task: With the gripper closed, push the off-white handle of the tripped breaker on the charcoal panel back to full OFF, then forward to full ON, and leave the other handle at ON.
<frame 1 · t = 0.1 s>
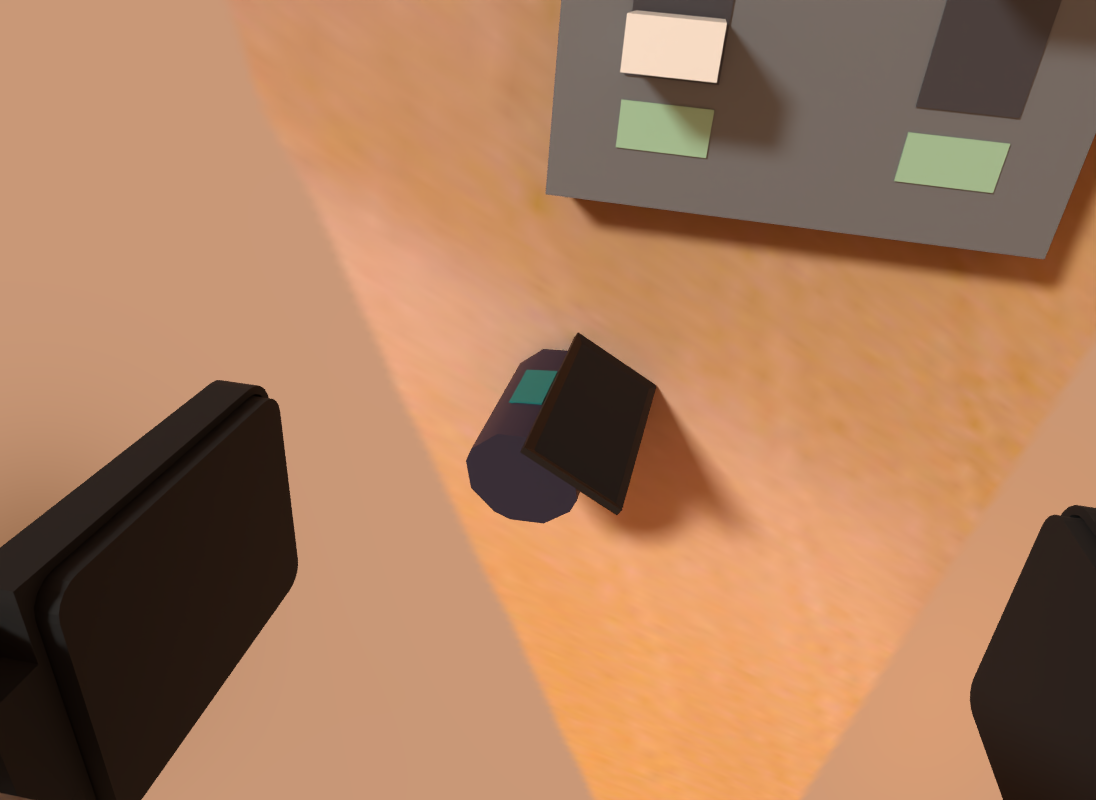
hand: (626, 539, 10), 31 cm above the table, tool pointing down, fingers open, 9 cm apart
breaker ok: (674, 44, 30), point 5 cm above the table, slide at 5.0 cm
speaker: (573, 394, 45), on the table
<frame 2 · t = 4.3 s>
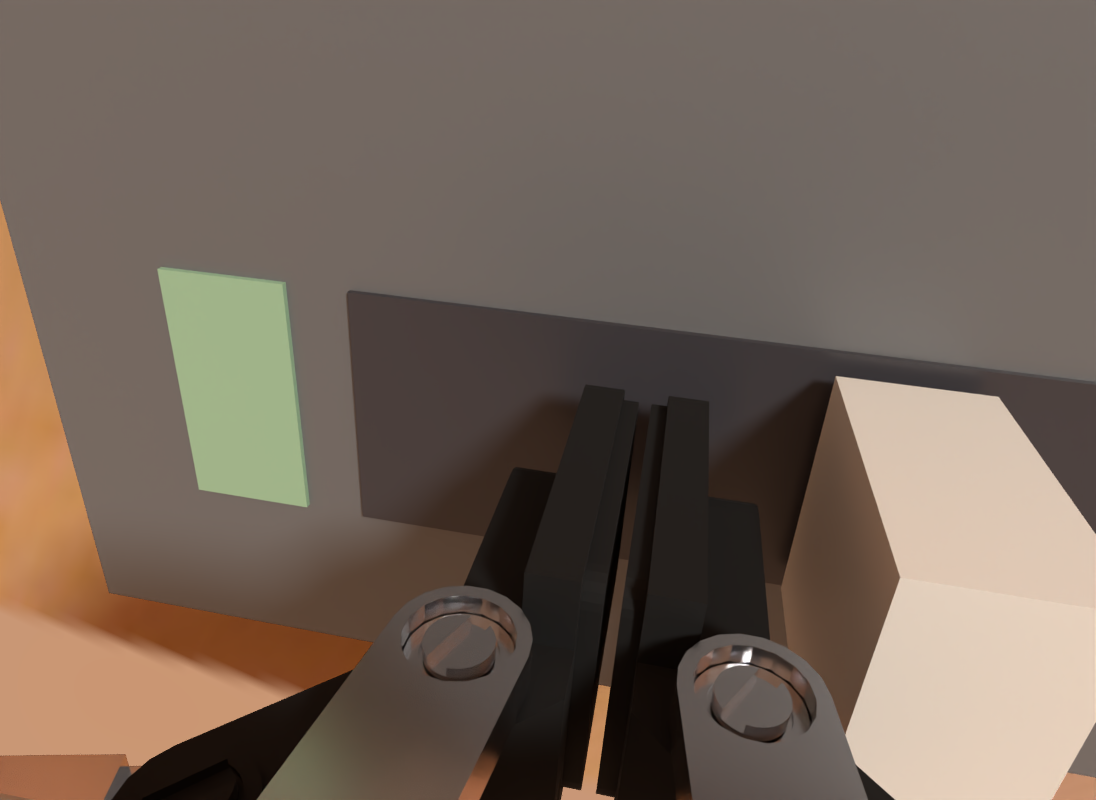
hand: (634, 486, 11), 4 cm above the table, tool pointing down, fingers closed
breaker tripped: (911, 598, 9), point 5 cm above the table, slide at -1.3 cm, touching gripper
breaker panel: (846, 8, 11), on the table
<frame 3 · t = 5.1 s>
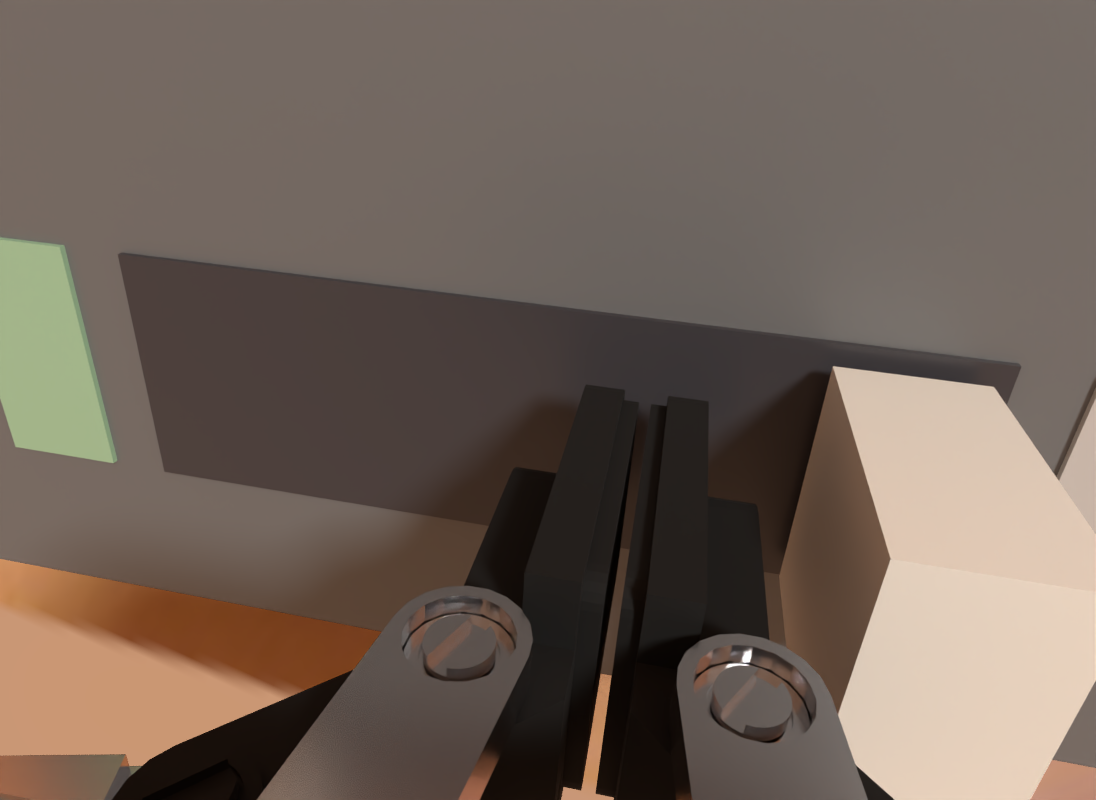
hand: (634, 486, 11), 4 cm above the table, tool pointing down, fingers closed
breaker tripped: (906, 584, 9), point 5 cm above the table, slide at -5.1 cm, touching gripper
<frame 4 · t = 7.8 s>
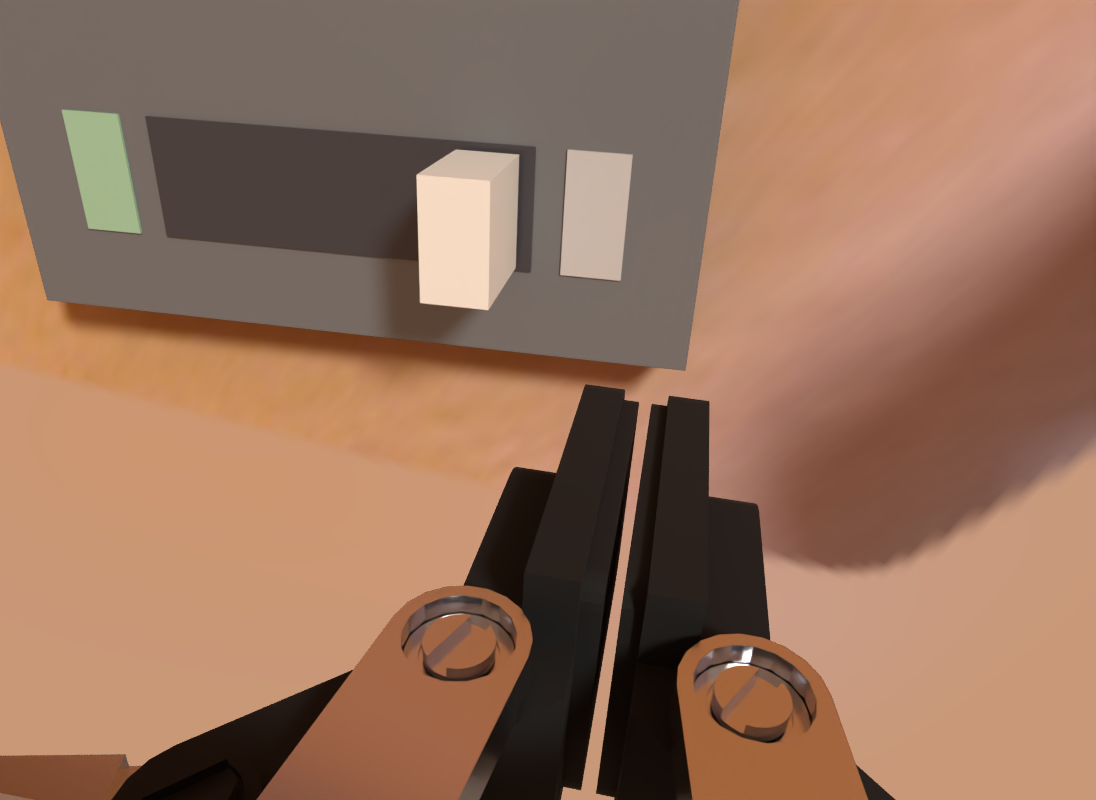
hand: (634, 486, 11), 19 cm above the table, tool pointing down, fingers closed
breaker tripped: (471, 226, 23), point 5 cm above the table, slide at -5.1 cm
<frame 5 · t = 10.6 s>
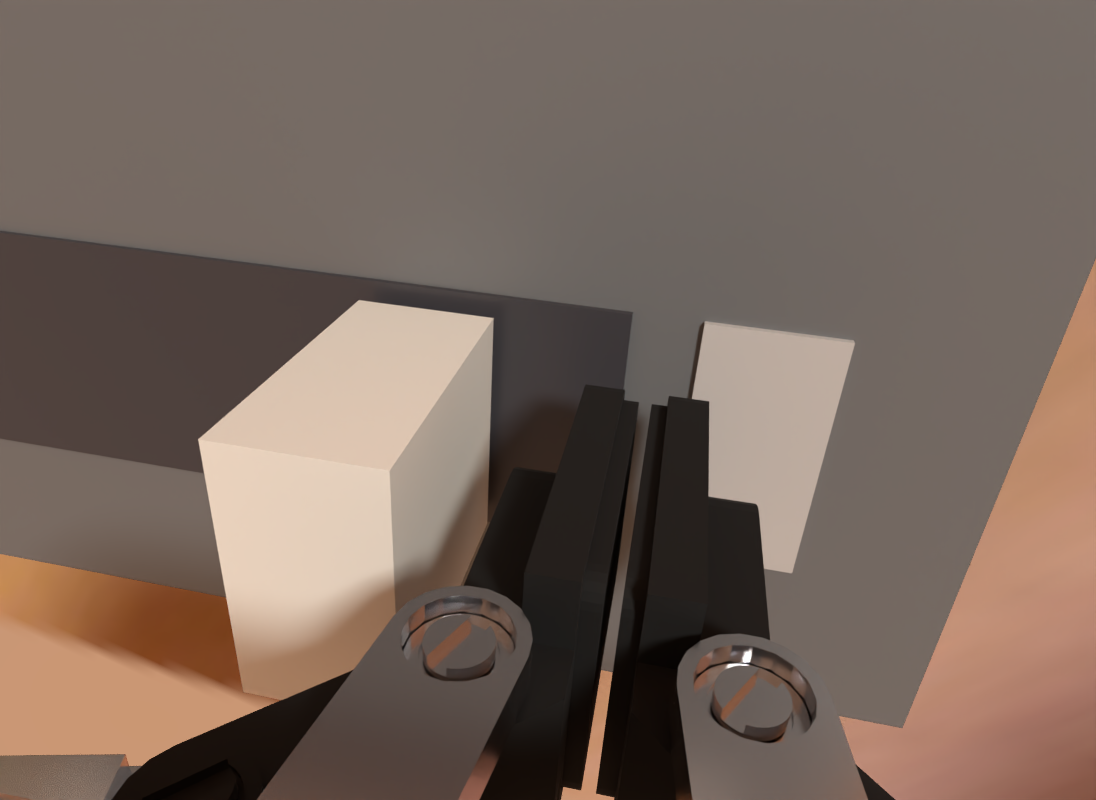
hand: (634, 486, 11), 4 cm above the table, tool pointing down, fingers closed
breaker tripped: (377, 491, 10), point 5 cm above the table, slide at -3.6 cm, touching gripper
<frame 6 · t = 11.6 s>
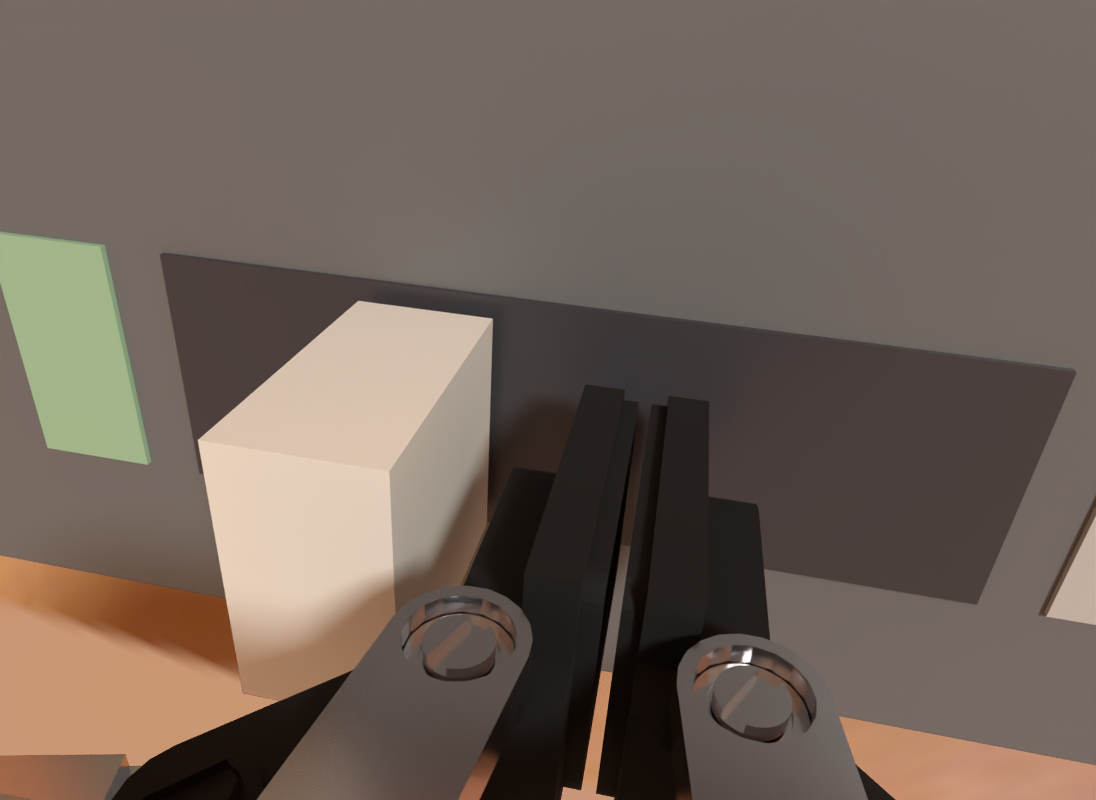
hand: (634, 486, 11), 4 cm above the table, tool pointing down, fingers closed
breaker tripped: (377, 492, 10), point 5 cm above the table, slide at 2.2 cm, touching gripper
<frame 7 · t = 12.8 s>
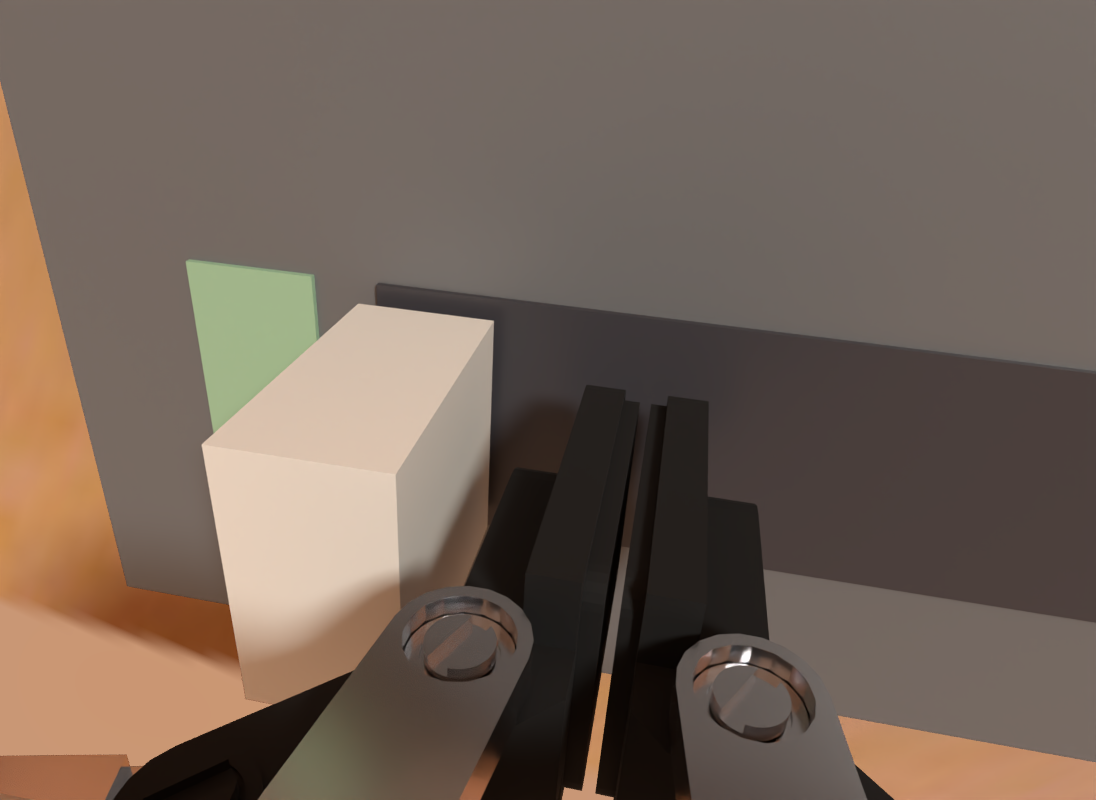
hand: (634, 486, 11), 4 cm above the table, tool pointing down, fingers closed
breaker tripped: (379, 495, 10), point 5 cm above the table, slide at 5.7 cm, touching gripper
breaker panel: (869, 7, 11), on the table
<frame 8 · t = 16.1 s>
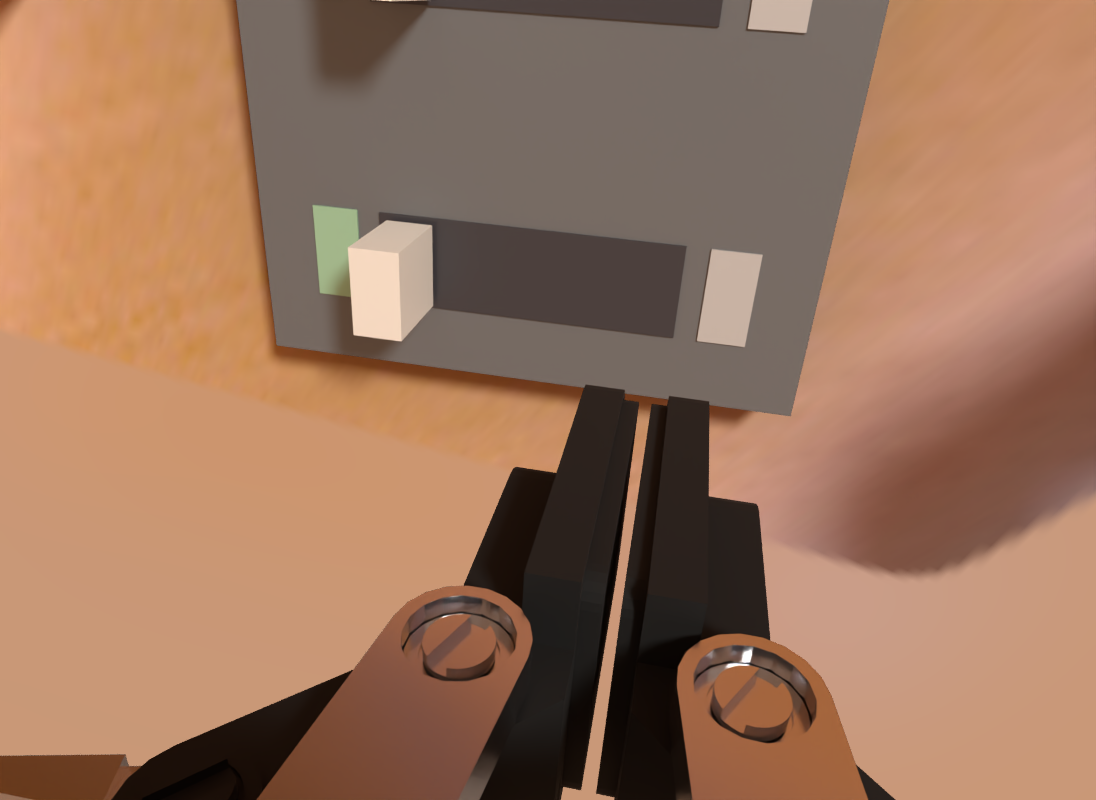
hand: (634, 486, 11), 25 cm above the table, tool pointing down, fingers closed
breaker tripped: (393, 278, 32), point 5 cm above the table, slide at 5.1 cm
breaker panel: (548, 117, 33), on the table
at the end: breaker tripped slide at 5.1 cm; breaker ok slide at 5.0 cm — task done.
